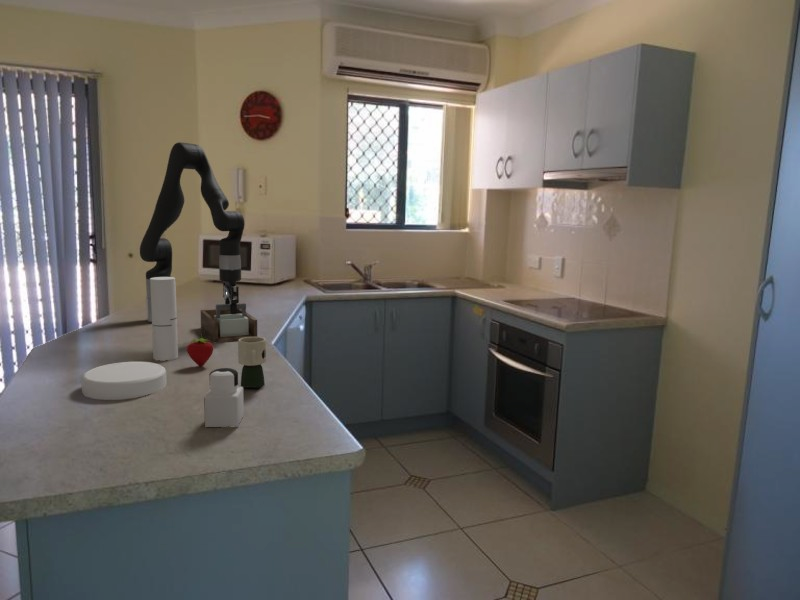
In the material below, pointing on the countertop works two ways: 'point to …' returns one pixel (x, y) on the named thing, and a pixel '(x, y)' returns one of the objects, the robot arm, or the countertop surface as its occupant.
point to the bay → (212, 326)
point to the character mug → (252, 360)
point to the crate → (231, 321)
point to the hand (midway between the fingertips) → (231, 312)
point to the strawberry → (200, 351)
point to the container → (123, 380)
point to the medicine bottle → (223, 399)
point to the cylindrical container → (164, 318)
